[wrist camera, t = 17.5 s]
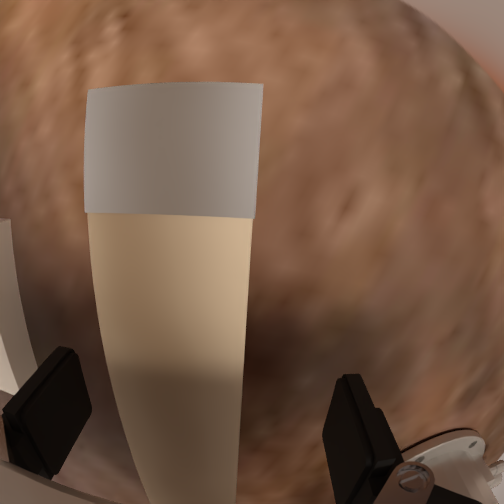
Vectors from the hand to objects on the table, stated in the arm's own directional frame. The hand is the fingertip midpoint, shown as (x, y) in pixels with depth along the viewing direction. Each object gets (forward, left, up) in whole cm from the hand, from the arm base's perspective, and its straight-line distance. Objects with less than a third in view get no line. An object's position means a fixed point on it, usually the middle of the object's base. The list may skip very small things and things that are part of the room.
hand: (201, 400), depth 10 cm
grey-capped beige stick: (+1, -1, -5) cm, 5 cm away
